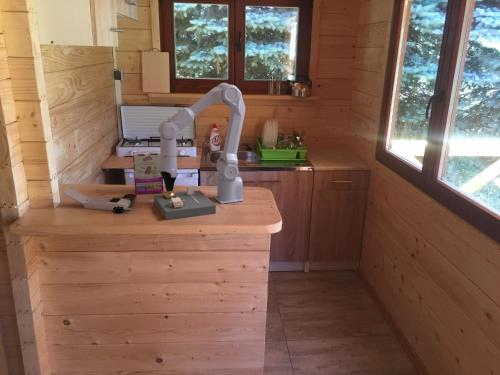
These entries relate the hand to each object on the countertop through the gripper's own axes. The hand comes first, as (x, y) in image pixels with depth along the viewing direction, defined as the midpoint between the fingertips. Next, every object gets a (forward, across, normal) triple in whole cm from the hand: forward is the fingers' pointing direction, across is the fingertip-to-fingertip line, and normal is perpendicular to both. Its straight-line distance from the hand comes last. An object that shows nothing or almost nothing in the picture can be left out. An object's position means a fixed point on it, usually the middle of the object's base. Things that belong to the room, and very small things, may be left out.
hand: (169, 190), depth 155 cm
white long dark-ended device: (+6, -6, -24) cm, 25 cm away
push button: (+4, 0, 0) cm, 4 cm away
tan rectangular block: (+2, 0, +8) cm, 8 cm away
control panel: (+5, +5, +4) cm, 8 cm away
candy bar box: (+6, -17, -4) cm, 18 cm away
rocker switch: (+1, +10, 0) cm, 10 cm away
